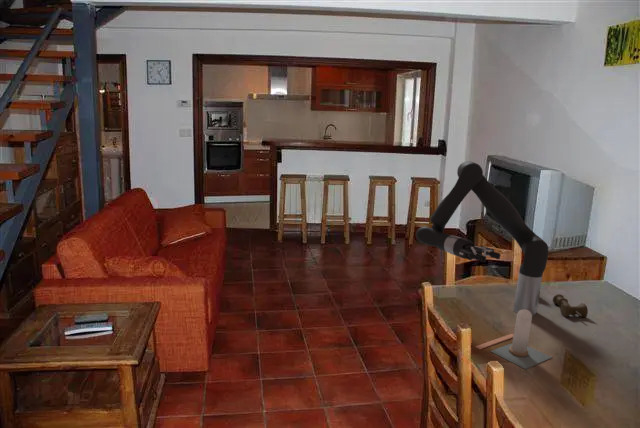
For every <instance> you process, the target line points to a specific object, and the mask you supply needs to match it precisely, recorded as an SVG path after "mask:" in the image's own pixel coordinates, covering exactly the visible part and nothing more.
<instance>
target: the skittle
mask: <svg viewBox="0 0 640 428" xmlns="http://www.w3.org/2000/svg"><path fill="white" fill-rule="evenodd" d="M532 321H533V316H532V314H531V312H530V311H528V310H526V309H522V310H520V311H519V312H518V313H516V319H515V325H514V329H513V330H514V331H513V334H514V336H513V338H512V342H511V343H512V346H510V347H509V352H510V353H511V354H512V355H514V356H517V357H527V356H528V350H527V346H528V343H529V338H530V332H531V326H532Z"/></svg>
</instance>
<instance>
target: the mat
mask: <svg viewBox="0 0 640 428" xmlns="http://www.w3.org/2000/svg"><path fill="white" fill-rule="evenodd" d="M510 346H512V342H511V343H509V344H505V345H503V346H501V347H498V348H495V349H493V350H490V353H491V354H494V355H496V356H498V357H500V358H502V359H504V360H505V361H508V362H510V363H512V364H514V365H516V366H517V367H519V368H522V369H524V370H527V369H530V368H533V367H535V366H536V365H540V364H541V363H544V362H546V361H549V360H550V359H553V356H551V355H548V354H545V353H544V352H541V351H539V350H537V349H535V348H532V347H531V346H528V345H527V350H528V356H527V357H517V356H514V355H512V354H511V353H510V352H509V347H510Z"/></svg>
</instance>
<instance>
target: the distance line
mask: <svg viewBox="0 0 640 428" xmlns="http://www.w3.org/2000/svg"><path fill="white" fill-rule="evenodd" d="M513 336H514V333H510V334H506V335H503V336H500V337H498V338H495V339H493V340H489V341H487V342H484V343H480V344H479V345H475V348H476V349H478V350H483V349H485V348H488V347H492V346H495V345H496V344H499V343H500V344H501V343H503V342H505V341H508V340H510V339H513Z"/></svg>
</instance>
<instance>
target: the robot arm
mask: <svg viewBox="0 0 640 428" xmlns="http://www.w3.org/2000/svg"><path fill="white" fill-rule="evenodd" d="M456 172H457V177H458V178H457V180H456V183H455V184H454V186H453V187H452V189H451V190H450V191H449V193H447V195H446V196H445V197H444V198H443V199H442V200H441V202H440V203H439V204H438V206H437V207H436V209H435V210H434V211H433V213H432V214H431V216H430V222H431V223H432V225H431V227H428V226H421V227H419V228H418V229H417V230H416V232H415V237H416V239H417V241H418V242H419V243H422V244H424V245H426V246H428V247H435V248H437V249H438V250H441V251H442V252H443V251H444V252H446V253H448V254H450V255H453V256H455V257H457V258H460V259H461V258H462V259H463V260H465V259H466V260H468V261H472V260H473V261H479V262H481V263H486V261H487V257H488V258H492V259H496V260H501V253H499V252H496V251H495V249H494V248H490V247H487V246H484V245H480V246H477V245H475V244H474V243H473V241H472V240H470V239H467V238H463V237H460V236H457V235H452V234H449V233H445V231H444V230H445V228H446V226H447V224H448V222H449V221H450V219H451V218H452V216H453V215H454V214H455V212H456V211H457V209H458V208H459V206H460V205H461V203H462V201H463V200H464V199H466V196H467V195H468V194H470V191H472V192H473V193H474V194H475V195H476V197H477V198H478V200H479V201H480V202H481V204H482V206H483V208H485V209H486V210H487V212H488V213H489V214H490V216H491V217H492V218H493V219H494V220H495V221H496V222H497V223H498V224H499V225H500V226H501V228H503V229H504V230H505V231H506V232H508V233H509V234H510V235H511V236H512V238H513V239H514V240H515V242H516V243H517V244H518V246H519V247H520V249H521V251H522V252H523V253H524V255H523V260H522V264H521V265H520V266H519V272H518V278H517V282H516V283H517V284H516V290H515V296H514V297H515V298H514V303H513V307H512V308H513V312H515V313H516V314H517V313H518V312H519V311H520V310H522V309H526V310H528V311H530V312H531V314H532V317H533V316H536V315H537V312H538V308H539V301H540V296H541V286H542V279H543V273H544V272H545V270H546V266H547V262H548V258H549V257H548V256H549V246H548V244H547V242H546V241H544V239H542V238H541V237H540V236H539V235H537V234H536V233H535V232H534V231H533V230H531V228H530V227H529V226H528V225H527V224H526V223H525V221H524V219H523V217H521V215H520V212H519V211H518V210H517V209H516V207H515V206H514V205H513V204H512V202H510V200H509V199H508V198H507V197H506V196H505V195H504V194H503V193H502V192H500V191H499V190H498V189H497V188H496V187H495V186H493V185H492V183H490V182H489V181H488V180H487V178H486V177H485V175H484V171H483V168H482V167H481V165H480V164H479V163H476V162H474V161H472V160H471V161H470V160H469V161H464V162H461V163H460V164H459V166H458V167H457V170H456Z"/></svg>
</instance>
